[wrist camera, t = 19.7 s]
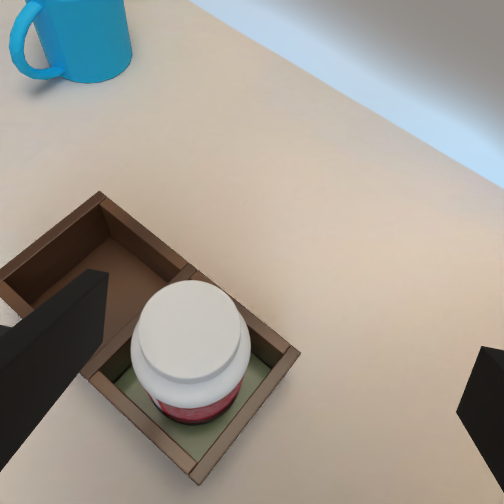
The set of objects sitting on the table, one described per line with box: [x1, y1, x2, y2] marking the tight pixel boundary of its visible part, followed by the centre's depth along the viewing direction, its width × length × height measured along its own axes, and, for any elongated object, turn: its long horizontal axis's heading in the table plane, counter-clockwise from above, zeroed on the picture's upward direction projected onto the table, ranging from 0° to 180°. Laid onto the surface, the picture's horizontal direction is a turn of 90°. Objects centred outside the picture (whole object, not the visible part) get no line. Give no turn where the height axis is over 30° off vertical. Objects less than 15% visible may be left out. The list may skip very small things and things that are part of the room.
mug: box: [9, 0, 132, 83], centre depth 40 cm, size 12×8×8 cm
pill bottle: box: [131, 280, 251, 425], centre depth 25 cm, size 6×6×11 cm
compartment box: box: [0, 191, 301, 486], centre depth 29 cm, size 18×9×5 cm, turn 51°
